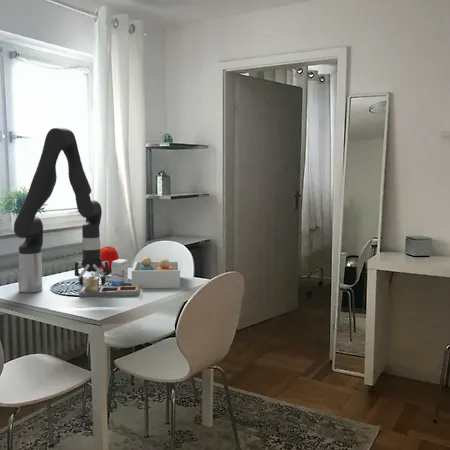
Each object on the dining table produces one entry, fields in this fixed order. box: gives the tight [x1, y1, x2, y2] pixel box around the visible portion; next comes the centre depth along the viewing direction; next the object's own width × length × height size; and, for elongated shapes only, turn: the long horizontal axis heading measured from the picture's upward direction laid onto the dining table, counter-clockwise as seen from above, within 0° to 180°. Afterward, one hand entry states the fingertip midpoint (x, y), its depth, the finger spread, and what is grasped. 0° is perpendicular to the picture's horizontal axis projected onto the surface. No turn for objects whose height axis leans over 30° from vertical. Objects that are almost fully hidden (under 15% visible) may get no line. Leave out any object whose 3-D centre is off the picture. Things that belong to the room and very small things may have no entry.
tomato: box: [100, 245, 120, 271], centre depth 271 cm, size 12×12×13 cm
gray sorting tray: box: [78, 285, 140, 298], centre depth 218 cm, size 24×10×3 cm, turn 96°
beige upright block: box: [84, 276, 100, 291], centre depth 217 cm, size 5×5×7 cm
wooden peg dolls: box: [139, 256, 173, 271], centre depth 245 cm, size 18×17×12 cm
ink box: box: [111, 258, 129, 286], centre depth 237 cm, size 9×5×12 cm, turn 168°
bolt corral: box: [131, 260, 181, 289], centre depth 244 cm, size 22×23×8 cm
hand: (92, 285), depth 216 cm, fingers open, 8 cm apart
